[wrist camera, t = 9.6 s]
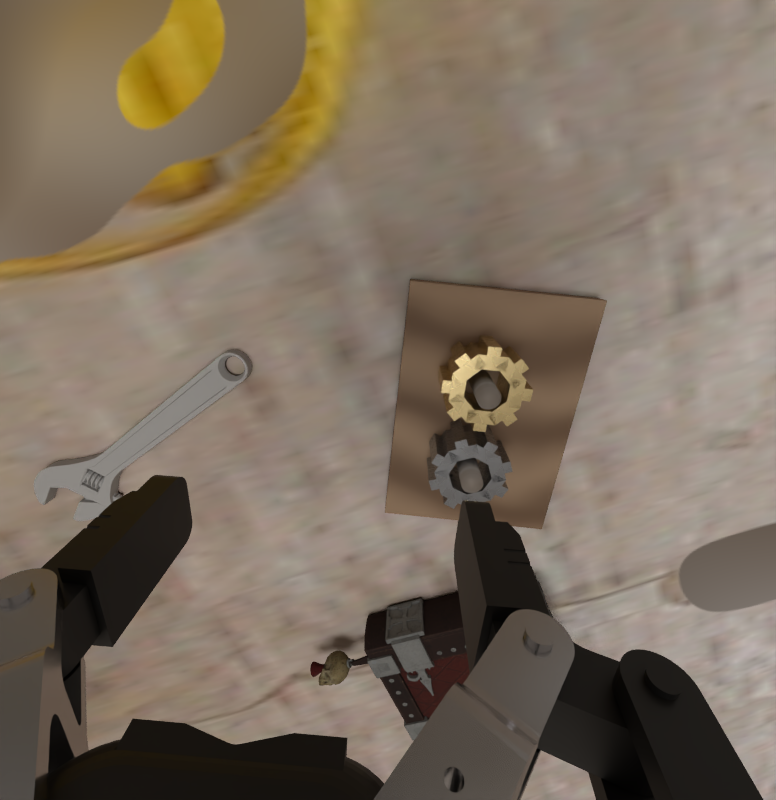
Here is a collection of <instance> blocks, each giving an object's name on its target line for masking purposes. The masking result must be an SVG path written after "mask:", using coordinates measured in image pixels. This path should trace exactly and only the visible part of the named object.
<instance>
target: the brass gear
mask: <svg viewBox="0 0 776 800" xmlns="http://www.w3.org/2000/svg"><path fill="white" fill-rule="evenodd" d="M450 350H451V353H452V357H450V358H449V359H448V364H447V366H439V372H438V380H439V385H440V389H441V393H445V394H443V398H444V402H445V407H446V411H447V413H448V414H449V416H450V417H451V418H452V419H453V420H454V421H456V420H457V419H458V418H460V417H462V418H463V419H464V420H465V422H467V423H470V424H471V426H472V429H473V431H480V432H486V427H487V425H496V424H498V423H499V422H501V421H503V422H504V424H505V425H506V426H509V425H510V424H512V423H513V422H515V421H516V420H518V419H517V417H516V416H515V414H514V412H516V411H517V410H519V409H520V407H521V402H522V401H531V397H532V393H533V388H532V387H531V386H530V385H529V384H528V382H527V381H526V379H525V378H524V377H523V375H522V373H524V372H525V371H527V370H528V369H529V368H528V366H527V365H526V364H525V362H524V361H523V360H522V358H521V357H520V356H519V355H518V354H517V353H516V352H515V351H514V350H513V349H512V348H511V347H510V346H509V347H507V348H506V349H505V350H502V347H501V346H500V345H499V344H498V343H497V341H496V340H495V339H494V338H493V337H492V336H485V335H480V337H479V343H474V342H470V343H469V344H468V345H466V346H465V347H464V346H463V345H462V344H461V342H460V341H459V342H457V343H456V344H455V345H454V346H452V347H451V348H450ZM482 369H483V370H493V371H499V376H498V381H497V385H496V387H497V388H498V390H499V392H500V394H501V402H500V403H499V405H498V406H497V407H495V408H493V409H489V410H488V409H483V408H482V407H480V406H479V404H478V402H477V400H476V398H475V395H474V393H467V391H466V390H465V387H466V382H467V380H468V379H469V378H471V377H472V376H473V375H475V374H476V373H477V372H479V371H480V370H482Z"/></svg>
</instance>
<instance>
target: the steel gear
mask: <svg viewBox="0 0 776 800" xmlns="http://www.w3.org/2000/svg"><path fill="white" fill-rule="evenodd" d="M450 425H451V429H449V430H445V431H444V432H443V434H442V435H441V436H440V435H438V434H436V433H434V435H433V436H432V438H431V439H430V441H429V446H430V456H431V457H428V458H427V468H428V480H429V484H430V487H431V490H437V489H440V493H441V495H442V496H443V502H444V504H445V505H447V506H449V507H451V508H453V509H454V508H455V506H456V505H457V504H458V503H459V504H461V503H462V501H463V500H466V501H478V502H486V501H490V500H492V498H493V497H494V496H495V495H497V496H499V497H501V498H502V497H503V496H504V494H505V493H506V492H507V491H508V487H507V484H506V482H505V481H506V477H505V473H509V472H513V471H512V467H511V462H510V460H509V458H508V455H507V453H506V451H505V449H504V447H503V445H502V442H501V440H498V441H496V440H495V438H494V436H493V433H492V431H491V429H490V427H489V426H488V425H487V427H486V432H480V431H473V429H472V426H471V425H470V424H468V425H464V426H463V425H462V422H461V420H457V421H453V422H450ZM470 458H476V459H478V460H480V462H479V463H478V467H479V470H480V473H481V476H482V479H483V487H482V488H481V490H479V491H478V492H476V493H468V492H466V491H464V490H463V489H462V487H461V482H460V478H459V473H458V469H457V468H455V467H454V466H455V464H456V463H457V461H461V460H465V459H470Z"/></svg>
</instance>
